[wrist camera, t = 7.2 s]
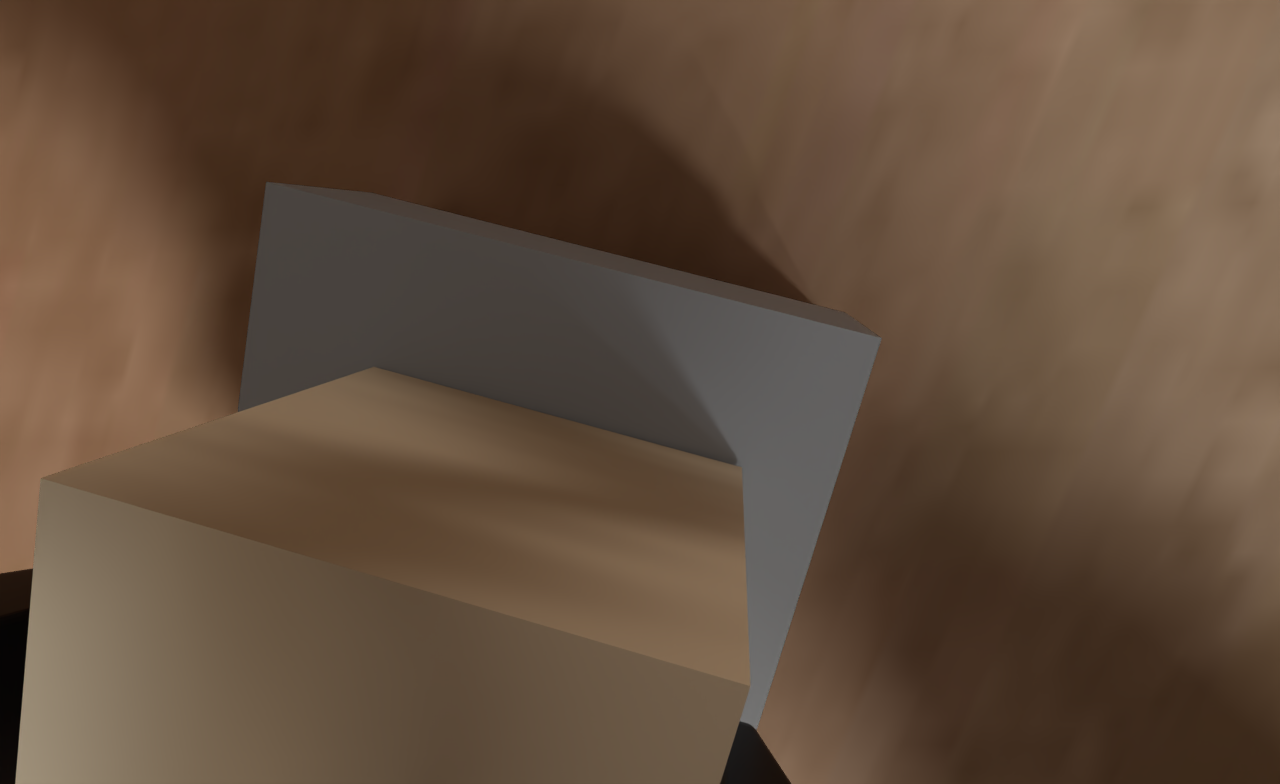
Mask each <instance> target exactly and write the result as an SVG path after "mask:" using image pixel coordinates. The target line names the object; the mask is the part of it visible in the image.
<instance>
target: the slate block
mask: <svg viewBox="0 0 1280 784" xmlns="http://www.w3.org/2000/svg"><path fill="white" fill-rule="evenodd" d="M881 339H882V338H881V337H879V336H878V335H877V334H875V333H874V332H872V331H871V330H869V329H868V328H866V327H865V326H864V325H862V324H861V323H859V322H858V321H856V320H855V319H854V318H852V317H851V316H849V315H848V314H846V313H845V312H841V311H837V310H833V309H829V308H825V307H821V306H817V305H814V304H810V303H806V302H802V301H798V300H794V299H790V298H786V297H782V296H778V295H774V294H770V293H766V292H762V291H758V290H754V289H750V288H746V287H742V286H738V285H734V284H731V283H727V282H723V281H719V280H715V279H711V278H707V277H703V276H699V275H695V274H691V273H687V272H683V271H679V270H675V269H671V268H667V267H663V266H659V265H655V264H651V263H648V262H644V261H640V260H636V259H632V258H628V257H624V256H620V255H616V254H612V253H608V252H604V251H600V250H596V249H592V248H588V247H584V246H580V245H576V244H572V243H568V242H564V241H561V240H557V239H553V238H549V237H545V236H541V235H537V234H533V233H529V232H525V231H521V230H517V229H513V228H509V227H505V226H501V225H497V224H493V223H489V222H485V221H481V220H478V219H474V218H470V217H466V216H462V215H458V214H454V213H450V212H446V211H442V210H438V209H434V208H430V207H426V206H422V205H418V204H414V203H410V202H406V201H402V200H398V199H394V198H391V197H387V196H383V195H379V194H375V193H369V192H360V191H350V190H341V189H331V188H322V187H312V186H303V185H293V184H284V183H274V182H266V188H265V196H264V204H263V212H262V220H261V228H260V236H259V244H258V252H257V260H256V268H255V276H254V284H253V292H252V300H251V308H250V316H249V324H248V332H247V340H246V348H245V356H244V364H243V373H242V381H241V389H240V397H239V405H238V412H240V411H243V410H246V409H249V408H252V407H255V406H258V405H261V404H264V403H267V402H270V401H273V400H276V399H279V398H282V397H285V396H288V395H291V394H294V393H297V392H300V391H303V390H306V389H309V388H312V387H315V386H318V385H321V384H324V383H327V382H330V381H333V380H336V379H339V378H342V377H345V376H348V375H351V374H354V373H357V372H360V371H363V370H366V369H369V368H372V367H377V368H380V369H384V370H388V371H391V372H395V373H399V374H402V375H406V376H410V377H413V378H417V379H421V380H424V381H428V382H432V383H435V384H439V385H443V386H446V387H450V388H453V389H457V390H461V391H464V392H468V393H472V394H475V395H479V396H483V397H486V398H490V399H494V400H497V401H501V402H505V403H508V404H512V405H516V406H519V407H523V408H527V409H530V410H534V411H538V412H541V413H545V414H549V415H552V416H556V417H560V418H563V419H567V420H571V421H574V422H578V423H582V424H585V425H589V426H592V427H596V428H600V429H603V430H607V431H611V432H614V433H618V434H622V435H625V436H629V437H633V438H636V439H640V440H644V441H647V442H651V443H655V444H658V445H662V446H666V447H669V448H673V449H677V450H680V451H684V452H688V453H691V454H695V455H699V456H702V457H706V458H710V459H713V460H717V461H721V462H724V463H728V464H731V465H735V466H739V467H742V482H743V507H744V533H745V558H746V584H747V609H748V635H749V661H750V689H749V693H748V696H747V699H746V702H745V705H744V709H743V712H742V715H741V718H740V721H741V722H745V723H748V724H750V725H752V726H753V727H754V728H755V729H756V730H757V727H758V724H759V721H760V718H761V715H762V711H763V708H764V705H765V702H766V699H767V696H768V693H769V690H770V686H771V683H772V680H773V677H774V674H775V671H776V668H777V664H778V661H779V658H780V655H781V652H782V649H783V646H784V643H785V639H786V636H787V633H788V630H789V627H790V624H791V621H792V617H793V614H794V611H795V608H796V605H797V602H798V599H799V596H800V592H801V589H802V586H803V583H804V580H805V577H806V574H807V570H808V567H809V564H810V561H811V558H812V555H813V552H814V549H815V545H816V542H817V539H818V536H819V533H820V530H821V527H822V523H823V520H824V517H825V514H826V511H827V508H828V505H829V502H830V498H831V495H832V492H833V489H834V486H835V483H836V480H837V476H838V473H839V470H840V467H841V464H842V461H843V458H844V455H845V451H846V448H847V445H848V442H849V439H850V436H851V433H852V429H853V426H854V423H855V420H856V417H857V414H858V411H859V408H860V404H861V401H862V398H863V395H864V392H865V389H866V386H867V382H868V379H869V376H870V373H871V370H872V367H873V364H874V361H875V357H876V354H877V351H878V348H879V345H880V342H881Z"/></svg>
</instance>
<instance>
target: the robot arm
mask: <svg viewBox="0 0 1280 784" xmlns="http://www.w3.org/2000/svg"><path fill="white" fill-rule="evenodd" d="M32 577H33V569H27V570H20V571H14V572H7V573H1V574H0V784H15V781H16V769H17V757H18V745H19V733H20V721H21V709H22V697H23V685H24V673H25V661H26V649H27V637H28V625H29V613H30V601H31V589H32ZM720 784H791V782H790V781H789V779H788V778H787V776H786V775H785V773H784V772H783V770H782V769H781V767H780V766H779V764H778V763H777V761H776V760H775V758H774V757H773V755H772V754H771V752H770V751H769V749H768V748H767V746H766V745H765V743H764V742H763V740H762V738H761V737H760V735H759V734H758V732H757V731H756V729H755V728H754V727H753V726H752V725H750V724H748V723H745V722H741V721H739V725H738V728H737V731H736V734H735V738H734V741H733V744H732V747H731V750H730V754H729V757H728V760H727V763H726V766H725V770H724V773H723V776H722V779H721V782H720Z"/></svg>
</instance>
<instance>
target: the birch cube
mask: <svg viewBox="0 0 1280 784" xmlns="http://www.w3.org/2000/svg"><path fill="white" fill-rule="evenodd" d="M749 689H750V661H749V635H748V609H747V584H746V558H745V533H744V507H743V482H742V467H739V466H735V465H731V464H728V463H724V462H721V461H717V460H713V459H710V458H706V457H702V456H699V455H695V454H691V453H688V452H684V451H680V450H677V449H673V448H669V447H666V446H662V445H658V444H655V443H651V442H647V441H644V440H640V439H636V438H633V437H629V436H625V435H622V434H618V433H614V432H611V431H607V430H603V429H600V428H596V427H592V426H589V425H585V424H582V423H578V422H574V421H571V420H567V419H563V418H560V417H556V416H552V415H549V414H545V413H541V412H538V411H534V410H530V409H527V408H523V407H519V406H516V405H512V404H508V403H505V402H501V401H497V400H494V399H490V398H486V397H483V396H479V395H475V394H472V393H468V392H464V391H461V390H457V389H453V388H450V387H446V386H443V385H439V384H435V383H432V382H428V381H424V380H421V379H417V378H413V377H410V376H406V375H402V374H399V373H395V372H391V371H388V370H384V369H380V368H377V367H372V368H369V369H366V370H363V371H360V372H357V373H354V374H351V375H348V376H345V377H342V378H339V379H336V380H333V381H330V382H327V383H324V384H321V385H318V386H315V387H312V388H309V389H306V390H303V391H300V392H297V393H294V394H291V395H288V396H285V397H282V398H279V399H276V400H273V401H270V402H267V403H264V404H261V405H258V406H255V407H252V408H249V409H246V410H243V411H240V412H237V413H234V414H231V415H228V416H225V417H222V418H219V419H216V420H213V421H210V422H207V423H204V424H201V425H198V426H195V427H192V428H189V429H186V430H183V431H180V432H177V433H174V434H171V435H168V436H165V437H162V438H159V439H156V440H153V441H150V442H147V443H144V444H141V445H138V446H135V447H132V448H129V449H126V450H123V451H120V452H117V453H114V454H111V455H108V456H105V457H102V458H99V459H96V460H93V461H90V462H87V463H84V464H81V465H78V466H75V467H72V468H69V469H66V470H63V471H61V472H58V473H55V474H52V475H49V476H46V477H43V478H41V481H40V493H39V505H38V517H37V529H36V541H35V553H34V565H33V577H32V589H31V601H30V613H29V625H28V637H27V649H26V661H25V673H24V685H23V697H22V709H21V721H20V733H19V745H18V757H17V769H16V781H15V784H720V782H721V779H722V776H723V773H724V770H725V766H726V763H727V760H728V757H729V754H730V750H731V747H732V744H733V741H734V738H735V734H736V731H737V728H738V725H739V721H740V718H741V715H742V712H743V709H744V705H745V702H746V699H747V696H748V693H749Z"/></svg>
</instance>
